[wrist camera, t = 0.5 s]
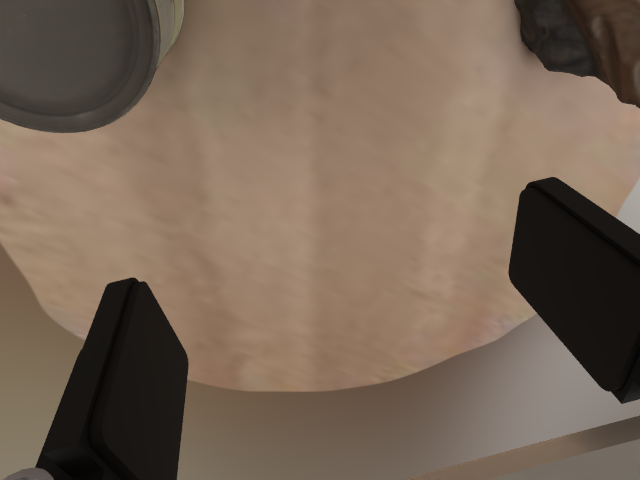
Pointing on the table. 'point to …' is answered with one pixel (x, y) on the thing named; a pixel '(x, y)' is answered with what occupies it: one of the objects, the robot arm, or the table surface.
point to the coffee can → (80, 59)
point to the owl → (587, 40)
